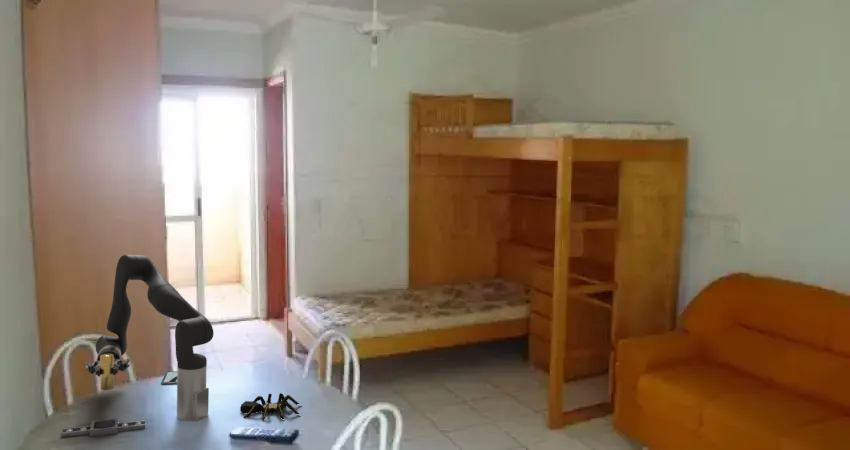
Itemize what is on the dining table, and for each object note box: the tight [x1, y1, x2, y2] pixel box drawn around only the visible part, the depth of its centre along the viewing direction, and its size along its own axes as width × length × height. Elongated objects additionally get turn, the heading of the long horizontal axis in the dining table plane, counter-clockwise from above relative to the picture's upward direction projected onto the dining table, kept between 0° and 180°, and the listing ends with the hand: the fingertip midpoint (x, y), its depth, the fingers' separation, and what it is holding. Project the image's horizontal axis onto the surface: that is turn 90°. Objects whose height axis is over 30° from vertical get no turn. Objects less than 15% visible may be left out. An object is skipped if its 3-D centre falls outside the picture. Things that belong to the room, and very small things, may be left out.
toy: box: [239, 393, 300, 421], centre depth 231 cm, size 18×21×5 cm
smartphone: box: [160, 370, 177, 386], centre depth 260 cm, size 7×1×15 cm
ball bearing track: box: [60, 418, 146, 438], centre depth 209 cm, size 24×8×2 cm, turn 113°
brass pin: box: [99, 354, 115, 391], centre depth 220 cm, size 4×4×11 cm
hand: (106, 372), depth 217 cm, fingers closed on brass pin, 4 cm apart
